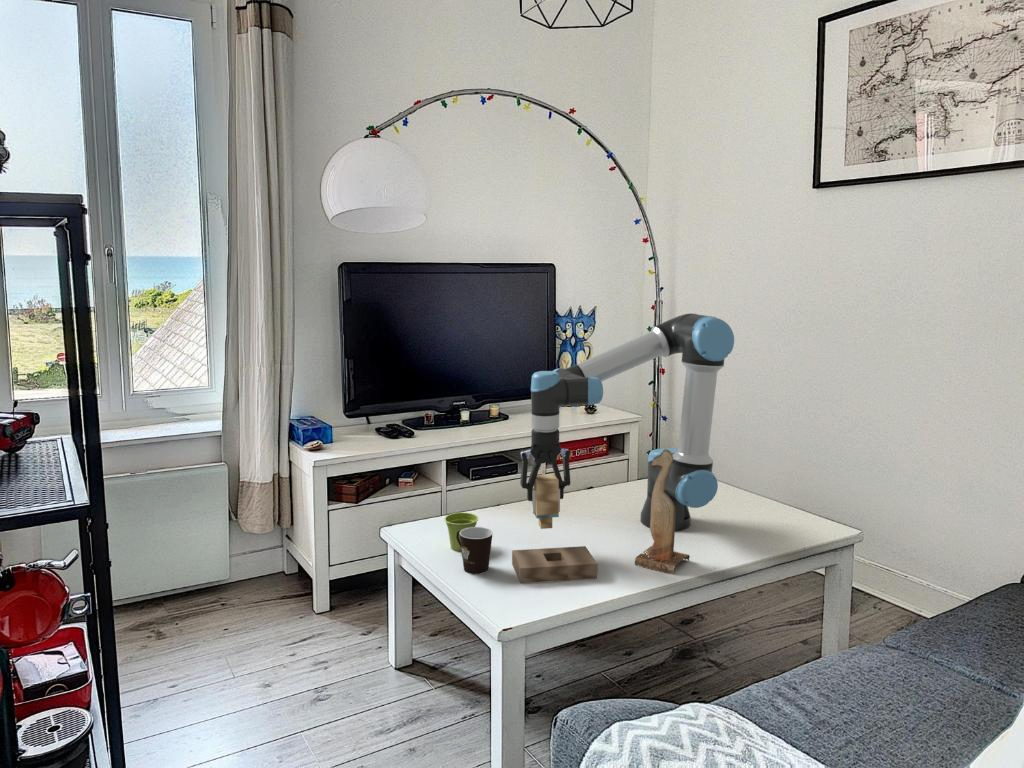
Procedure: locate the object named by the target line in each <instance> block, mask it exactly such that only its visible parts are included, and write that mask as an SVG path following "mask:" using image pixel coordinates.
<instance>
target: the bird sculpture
mask: <svg viewBox="0 0 1024 768" xmlns="http://www.w3.org/2000/svg"><path fill="white" fill-rule="evenodd" d="M663 449H664V451H663V452H662V453H661V454H660V455H658V456H656V457H654V458H653V461H652V467H660V468H661V470H660V472H659V475H658V477H657V480H656V482H655V485H654V489H653V493H652V499H651V520H650V527H649V531H650V534H651V535H650V536H651V537H652V540H653V543H652V545H651V546H649V547H648V548H647V549H645V550H644V551H642V552H641V553H640V554H638V555H637V556H635V558H634V566H635V567H636V566H638V567H642V568H645V569H648V570H649V569H650V570H653V571H656V572H657V571H659V572H662V573H664V574H665V573H666V574H670V575H674V572H675V569H676V566H677V565H678V564H679V563H680V562H681V561H683V560H685V561H686V560H687V561H689V562H690V554H687V553H683V552H679V551H675V549H674V548H675V535H676V534H675V533H676V530H675V515H676V511H675V506H674V504H673V502H672V500H671V499H670V497H669V496H668V495H667V494H666V493H665V492H664V489H665V483H666V478H667V475H668V472H669V469H670V467H671V464H672V462H673V455H672V453H671V452H670V451H669V450H667V449H665V448H663Z"/></svg>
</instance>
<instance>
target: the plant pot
mask: <svg viewBox="0 0 1024 768" xmlns="http://www.w3.org/2000/svg"><path fill="white" fill-rule="evenodd" d="M478 521H479V516H478V515H477V514H475V513H472V512H453V513H450V514H448V515H446V516H445V517H444V522H445V524H446V526H447V530H448V531H447V533H448V536H449V538H448V539H449V544H450V549H452V550H453V551H457V552H462V550H461V547H460V545H459V543H458V541H457V537H456V535H457V532H458V531H461V530H463V529H465V528H470V527H477V522H478ZM459 540H460V534H459Z"/></svg>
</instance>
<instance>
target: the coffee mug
mask: <svg viewBox="0 0 1024 768" xmlns="http://www.w3.org/2000/svg"><path fill="white" fill-rule="evenodd" d="M459 534H460V540H459ZM493 535H494V533H493V530H491V529H489V528H487V527H483V526H475V527H470V528H465V529H463V530H461V531H458V532H457V535H456V537H457V541H458V543H459V545H460V547H461V550H462V551H461V557H462V566H463V571H464V572H466V574H467V573H468V574H471V575H482V574H484V573H487V572H488V571H489V568H490V567H489V566H490V558H491V557H490V556H491V551H492V550H491V549H492V539H493Z"/></svg>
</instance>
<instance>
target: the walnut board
mask: <svg viewBox="0 0 1024 768" xmlns="http://www.w3.org/2000/svg"><path fill="white" fill-rule="evenodd" d="M598 564H599V563H598V562H597V561H596V559H595V558H594V556H593V555H592V553H591V552H590V551H589V549H588V548H587V547H586V545H583V546H582V545H581V546H564V547H562V546H561V547H548V548H545V547H544V548H532V549H530V548H529V549H514V550H513V549H512V551H511V565H512V568H513V570H514V572H515V575H516V577H517V579H518V582H519V584H531V583H549V582H550V583H551V582H561V581H562V582H564V581H577V580H579V581H580V580H581V581H582V580H593V579H594V580H596V579H598Z"/></svg>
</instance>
